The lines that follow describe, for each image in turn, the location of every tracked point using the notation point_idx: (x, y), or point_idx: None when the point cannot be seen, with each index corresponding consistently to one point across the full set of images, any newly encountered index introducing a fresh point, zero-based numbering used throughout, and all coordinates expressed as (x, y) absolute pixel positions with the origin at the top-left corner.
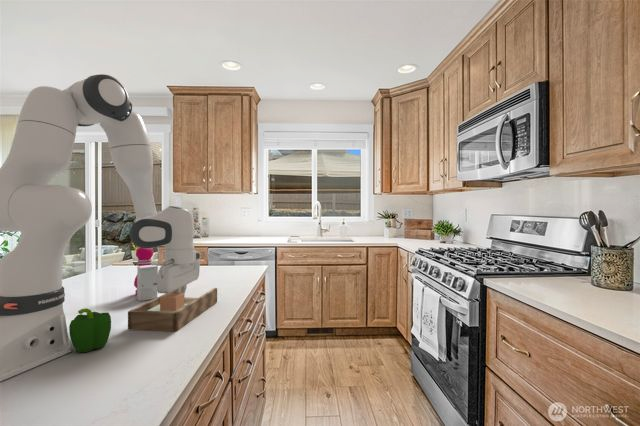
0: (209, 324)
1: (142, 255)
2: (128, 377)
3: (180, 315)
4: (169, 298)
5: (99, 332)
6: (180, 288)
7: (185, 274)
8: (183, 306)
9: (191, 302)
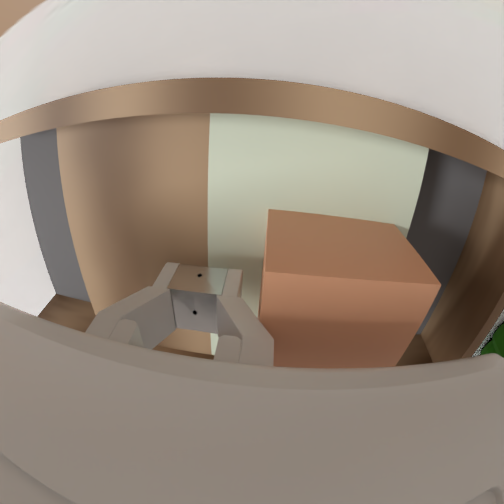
0: (418, 6)
1: None
2: None
3: None
4: (412, 329)
5: None
6: (229, 355)
7: (87, 491)
8: (283, 209)
9: (378, 123)
